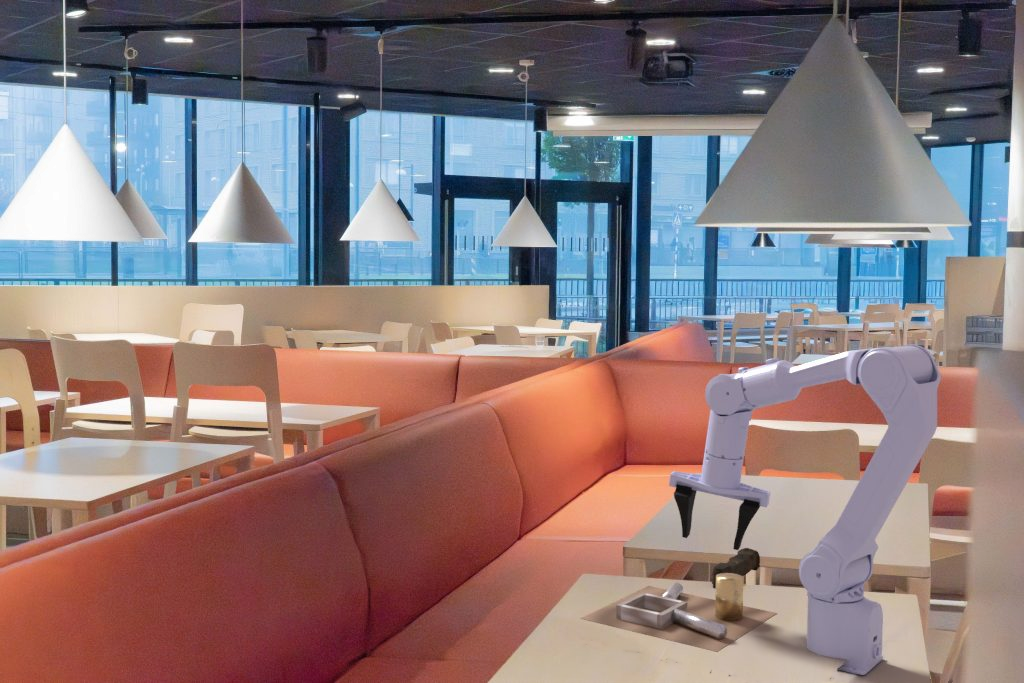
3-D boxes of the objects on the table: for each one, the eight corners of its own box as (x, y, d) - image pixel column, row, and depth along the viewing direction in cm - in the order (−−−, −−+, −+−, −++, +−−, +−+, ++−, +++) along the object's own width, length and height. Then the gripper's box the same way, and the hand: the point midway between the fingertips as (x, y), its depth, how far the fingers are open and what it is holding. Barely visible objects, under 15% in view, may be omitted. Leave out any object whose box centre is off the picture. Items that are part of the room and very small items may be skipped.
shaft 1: (670, 594, 169) (670, 581, 168) (683, 595, 168) (683, 583, 168) (657, 609, 161) (658, 596, 161) (670, 611, 160) (671, 598, 160)
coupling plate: (777, 622, 160) (777, 599, 160) (716, 662, 144) (717, 637, 144) (648, 594, 173) (648, 573, 173) (580, 628, 157) (580, 604, 157)
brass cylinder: (747, 615, 158) (748, 576, 158) (735, 623, 155) (736, 582, 155) (722, 610, 161) (723, 571, 160) (710, 617, 158) (711, 577, 157)
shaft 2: (727, 637, 149) (727, 623, 149) (717, 641, 148) (717, 626, 148) (679, 620, 156) (679, 607, 156) (669, 623, 155) (670, 610, 155)
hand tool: (738, 567, 190) (738, 542, 189) (760, 571, 188) (760, 545, 187) (697, 596, 174) (697, 567, 173) (721, 600, 172) (721, 571, 171)
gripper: (778, 457, 158) (764, 544, 160) (682, 438, 163) (670, 523, 165) (770, 469, 151) (756, 559, 154) (671, 448, 156) (658, 536, 159)
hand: (711, 541), depth 159 cm, fingers open, 7 cm apart
